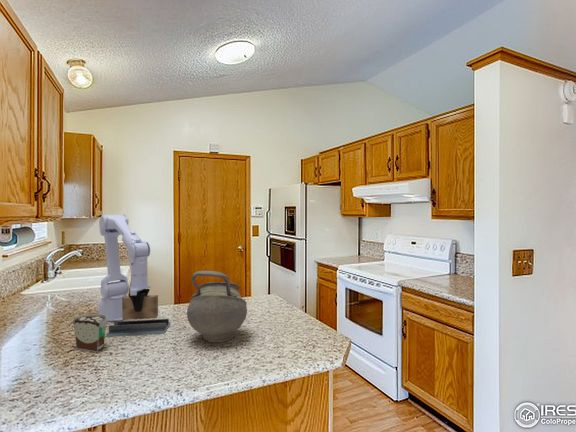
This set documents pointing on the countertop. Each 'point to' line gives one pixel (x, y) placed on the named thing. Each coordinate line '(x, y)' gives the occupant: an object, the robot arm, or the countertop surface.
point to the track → (138, 327)
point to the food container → (90, 332)
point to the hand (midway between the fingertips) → (139, 310)
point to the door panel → (147, 310)
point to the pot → (216, 308)
